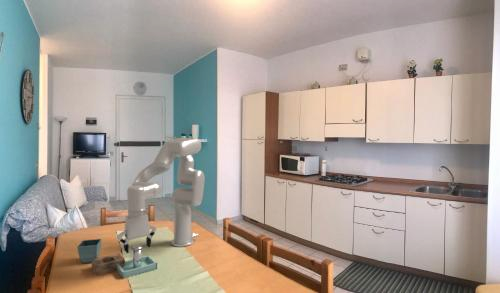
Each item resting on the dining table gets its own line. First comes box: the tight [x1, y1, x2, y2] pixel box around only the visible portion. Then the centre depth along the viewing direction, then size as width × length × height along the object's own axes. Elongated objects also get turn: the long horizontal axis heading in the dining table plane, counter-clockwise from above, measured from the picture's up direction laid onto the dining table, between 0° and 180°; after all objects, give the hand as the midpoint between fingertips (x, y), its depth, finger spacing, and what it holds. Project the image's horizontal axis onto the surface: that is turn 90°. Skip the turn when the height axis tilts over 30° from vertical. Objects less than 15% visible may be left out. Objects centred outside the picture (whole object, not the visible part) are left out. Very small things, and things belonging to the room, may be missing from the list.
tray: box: [116, 255, 158, 279], centre depth 133 cm, size 15×11×3 cm
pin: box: [131, 244, 143, 269], centre depth 133 cm, size 5×5×10 cm
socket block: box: [91, 253, 126, 277], centre depth 133 cm, size 12×9×4 cm
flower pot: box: [77, 238, 103, 264], centre depth 141 cm, size 9×9×9 cm
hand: (138, 249), depth 133 cm, fingers open, 9 cm apart
